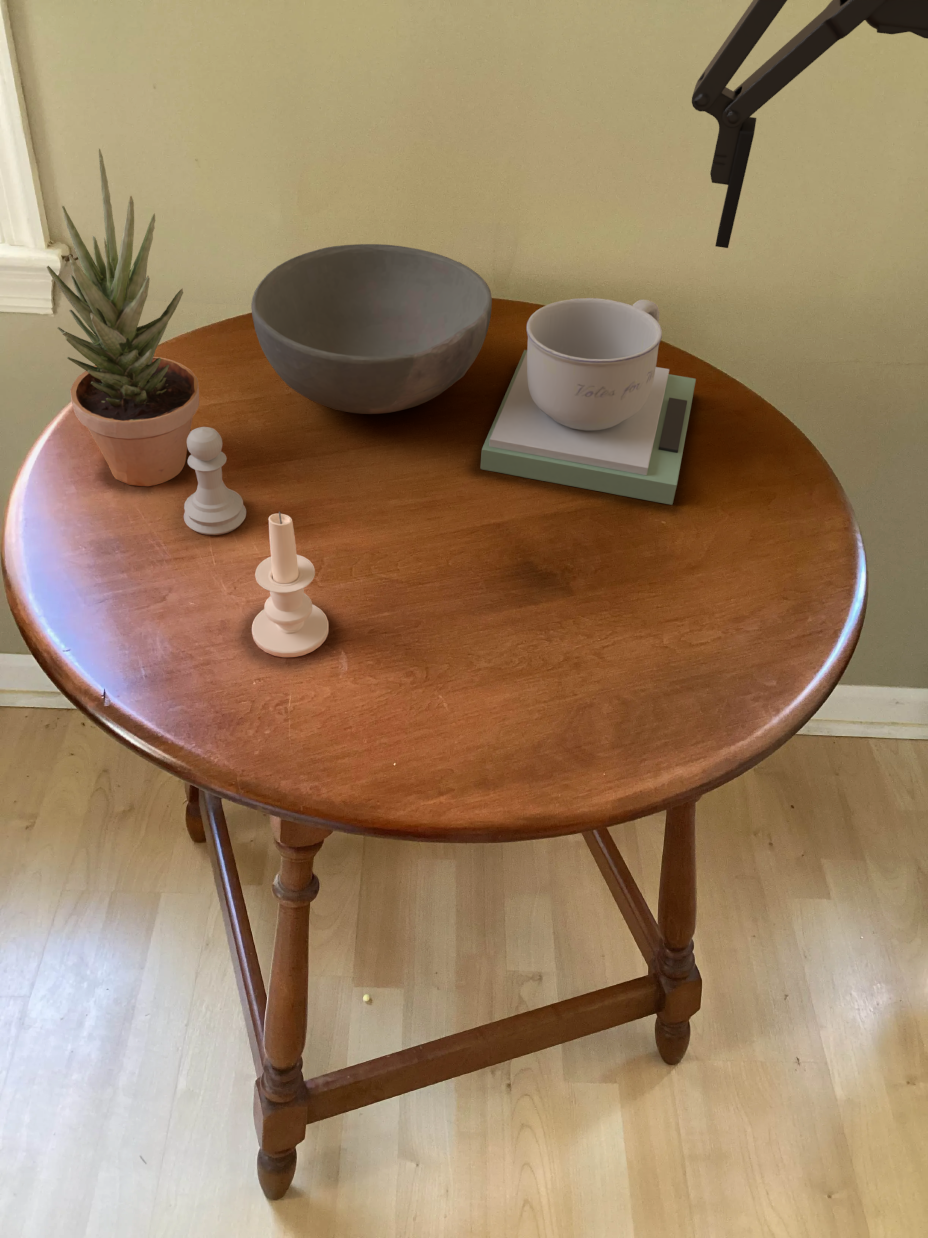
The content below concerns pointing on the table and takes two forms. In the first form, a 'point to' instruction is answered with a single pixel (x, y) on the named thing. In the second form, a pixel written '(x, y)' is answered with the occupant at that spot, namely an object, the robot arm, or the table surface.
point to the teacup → (592, 360)
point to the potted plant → (126, 358)
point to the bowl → (371, 325)
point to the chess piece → (211, 487)
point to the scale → (594, 442)
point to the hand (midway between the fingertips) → (838, 255)
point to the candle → (287, 597)
